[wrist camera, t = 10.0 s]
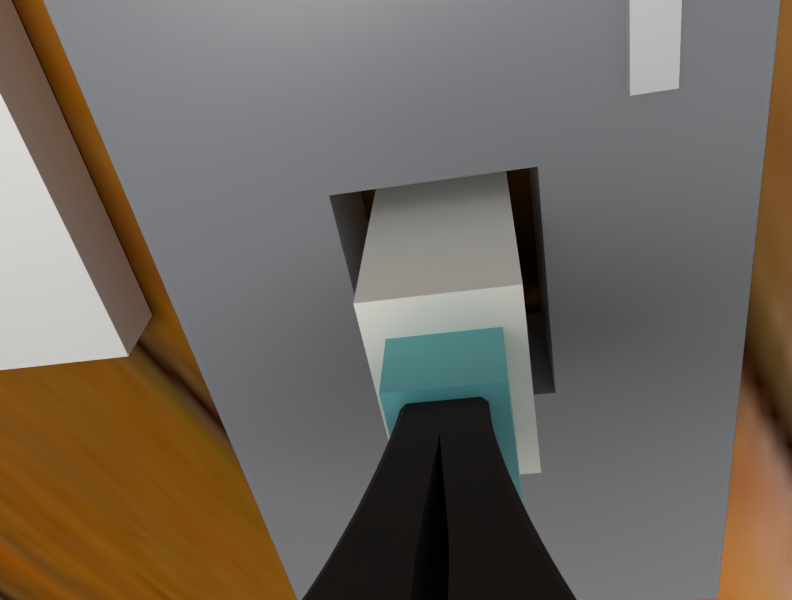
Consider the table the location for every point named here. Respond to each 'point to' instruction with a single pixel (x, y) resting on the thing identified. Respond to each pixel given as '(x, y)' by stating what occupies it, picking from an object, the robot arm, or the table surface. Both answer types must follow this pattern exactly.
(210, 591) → the table surface
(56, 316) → the square frame
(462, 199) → the plug
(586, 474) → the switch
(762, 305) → the table surface
